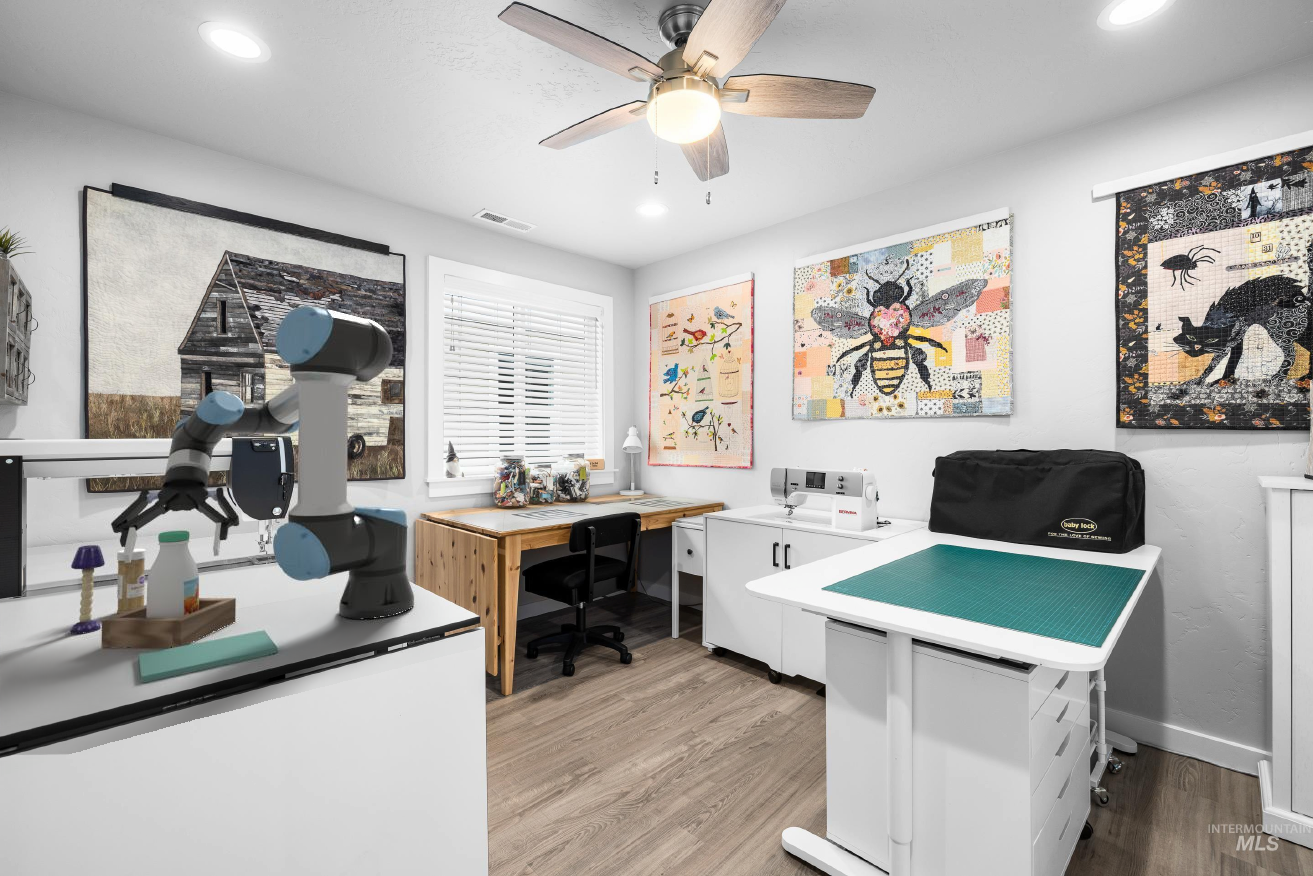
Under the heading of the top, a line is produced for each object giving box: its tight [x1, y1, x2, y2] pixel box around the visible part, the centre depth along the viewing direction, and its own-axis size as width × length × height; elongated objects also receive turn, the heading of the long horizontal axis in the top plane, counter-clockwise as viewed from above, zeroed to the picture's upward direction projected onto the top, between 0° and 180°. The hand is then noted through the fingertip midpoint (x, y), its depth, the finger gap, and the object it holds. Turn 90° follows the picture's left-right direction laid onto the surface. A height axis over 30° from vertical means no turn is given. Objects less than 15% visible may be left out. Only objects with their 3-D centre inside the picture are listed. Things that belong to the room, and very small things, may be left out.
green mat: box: [138, 629, 279, 684], centre depth 98 cm, size 18×12×1 cm, turn 134°
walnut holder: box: [100, 597, 237, 649], centre depth 109 cm, size 14×14×5 cm
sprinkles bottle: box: [116, 548, 147, 615], centre depth 122 cm, size 5×5×13 cm
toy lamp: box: [69, 544, 106, 634], centre depth 110 cm, size 5×5×17 cm
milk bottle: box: [146, 530, 200, 618], centre depth 109 cm, size 8×8×20 cm
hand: (172, 555), depth 111 cm, fingers open, 13 cm apart
